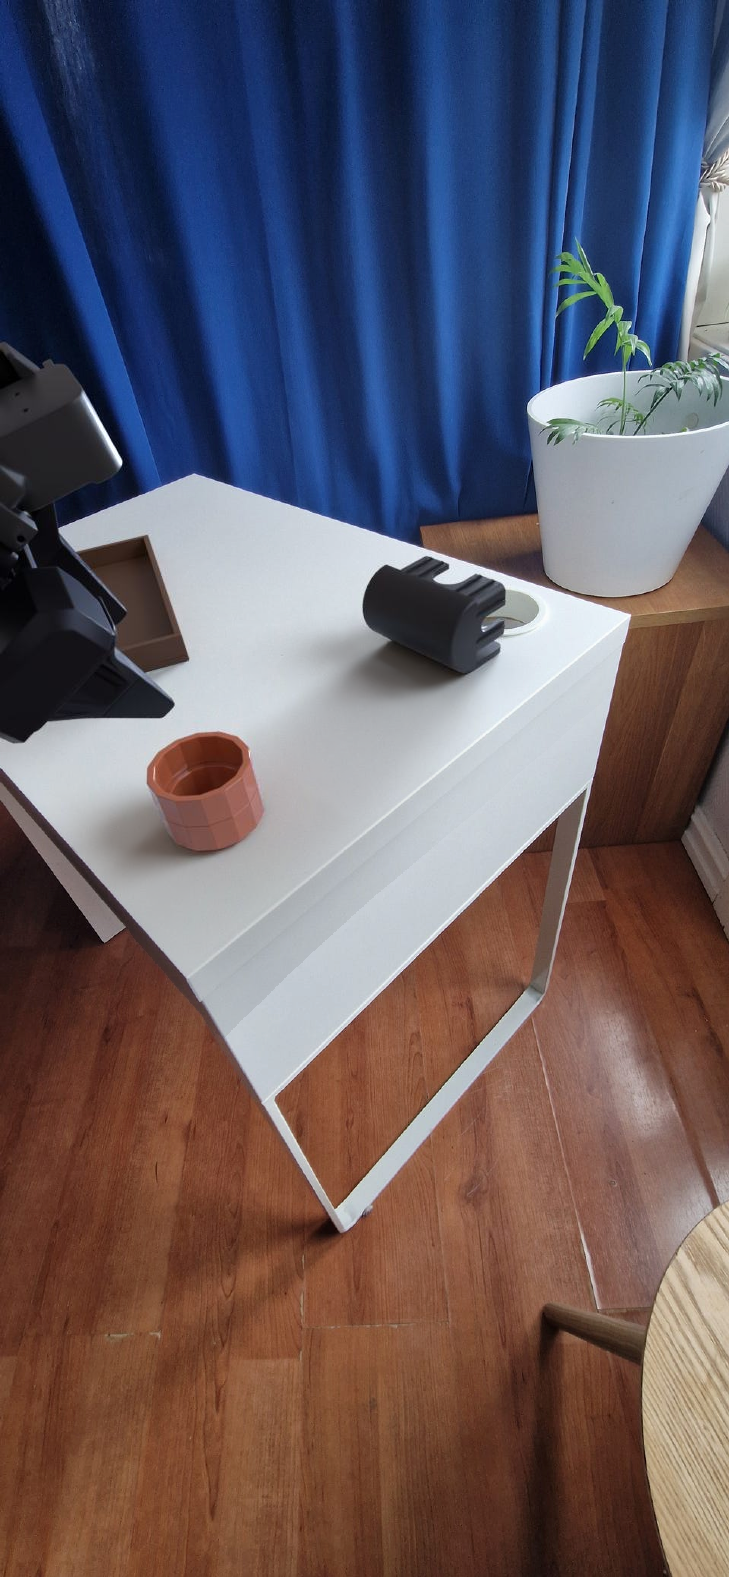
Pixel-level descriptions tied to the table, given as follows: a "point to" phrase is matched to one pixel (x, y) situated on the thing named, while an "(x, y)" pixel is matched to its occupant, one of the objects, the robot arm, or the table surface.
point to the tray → (139, 602)
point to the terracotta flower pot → (206, 790)
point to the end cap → (436, 613)
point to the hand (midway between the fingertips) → (143, 660)
